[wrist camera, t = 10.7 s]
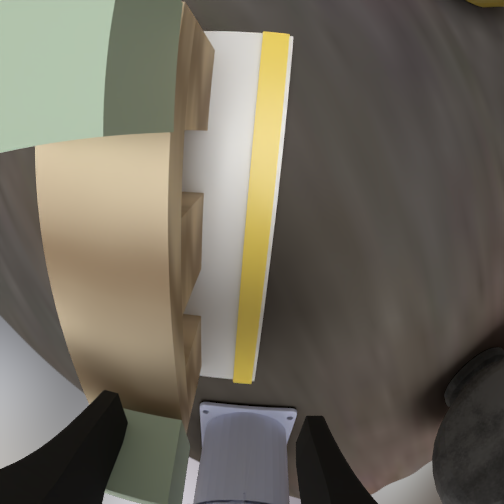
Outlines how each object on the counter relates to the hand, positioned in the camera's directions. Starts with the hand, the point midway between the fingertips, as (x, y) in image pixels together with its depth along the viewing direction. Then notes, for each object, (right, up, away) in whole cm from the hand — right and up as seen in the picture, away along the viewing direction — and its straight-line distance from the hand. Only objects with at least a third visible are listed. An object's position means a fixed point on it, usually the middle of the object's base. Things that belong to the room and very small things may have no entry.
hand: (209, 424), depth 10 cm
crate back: (-3, -2, +2) cm, 5 cm away
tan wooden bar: (-3, +8, +5) cm, 10 cm away
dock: (-3, +8, +7) cm, 11 cm away
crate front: (-2, +12, -3) cm, 12 cm away
